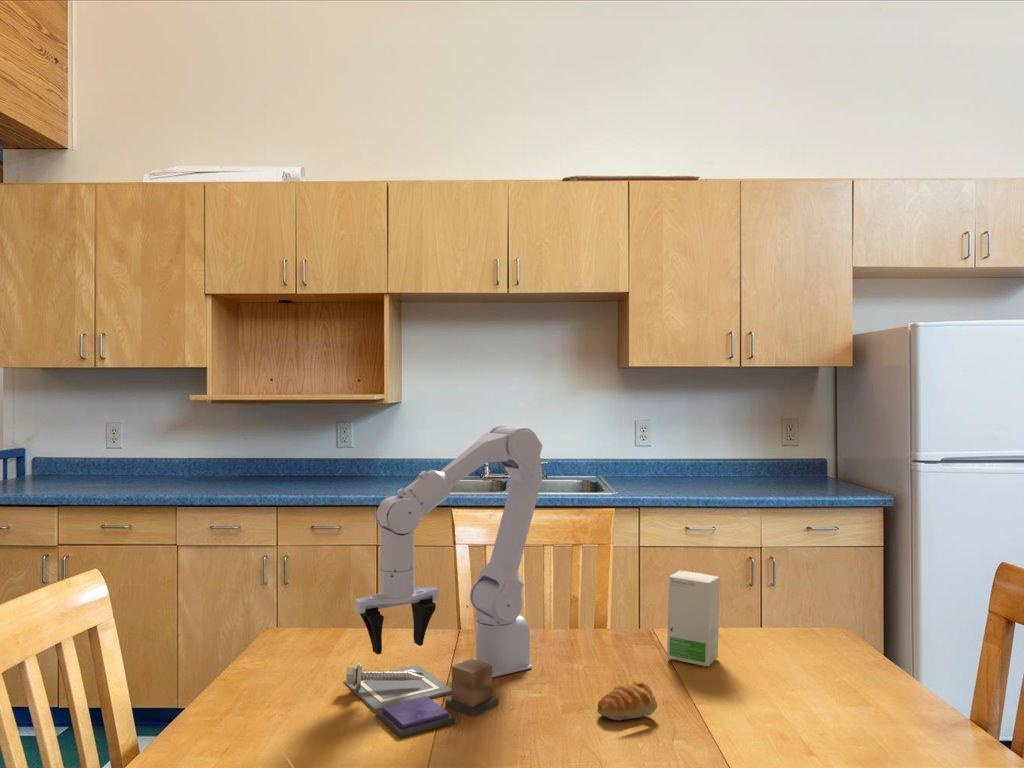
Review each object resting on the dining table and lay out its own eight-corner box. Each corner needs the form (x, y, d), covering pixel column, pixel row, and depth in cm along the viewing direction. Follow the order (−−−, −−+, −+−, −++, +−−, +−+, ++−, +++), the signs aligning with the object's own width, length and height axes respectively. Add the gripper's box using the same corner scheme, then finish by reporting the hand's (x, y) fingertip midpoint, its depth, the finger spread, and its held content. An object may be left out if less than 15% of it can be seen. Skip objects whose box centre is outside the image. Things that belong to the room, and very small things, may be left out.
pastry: (615, 728, 114) (615, 702, 114) (586, 711, 120) (586, 687, 120) (660, 712, 119) (661, 688, 119) (631, 697, 125) (631, 674, 125)
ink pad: (428, 703, 124) (428, 693, 124) (454, 723, 116) (454, 713, 116) (376, 716, 119) (376, 706, 119) (400, 738, 112) (400, 727, 112)
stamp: (471, 695, 127) (471, 656, 127) (498, 705, 123) (498, 665, 123) (445, 706, 123) (445, 666, 123) (472, 717, 119) (472, 675, 119)
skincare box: (666, 659, 144) (665, 576, 144) (678, 649, 150) (677, 569, 150) (710, 667, 140) (709, 582, 140) (720, 656, 145) (720, 574, 146)
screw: (345, 696, 125) (347, 666, 125) (345, 685, 130) (347, 656, 130) (424, 696, 128) (426, 666, 128) (422, 685, 133) (424, 657, 133)
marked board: (417, 667, 140) (417, 664, 140) (453, 693, 128) (453, 689, 128) (343, 683, 132) (343, 680, 132) (375, 712, 121) (375, 708, 121)
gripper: (425, 558, 138) (425, 634, 138) (348, 569, 130) (348, 649, 130) (443, 566, 132) (444, 645, 132) (364, 577, 124) (364, 661, 124)
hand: (398, 648), depth 130 cm, fingers open, 7 cm apart
